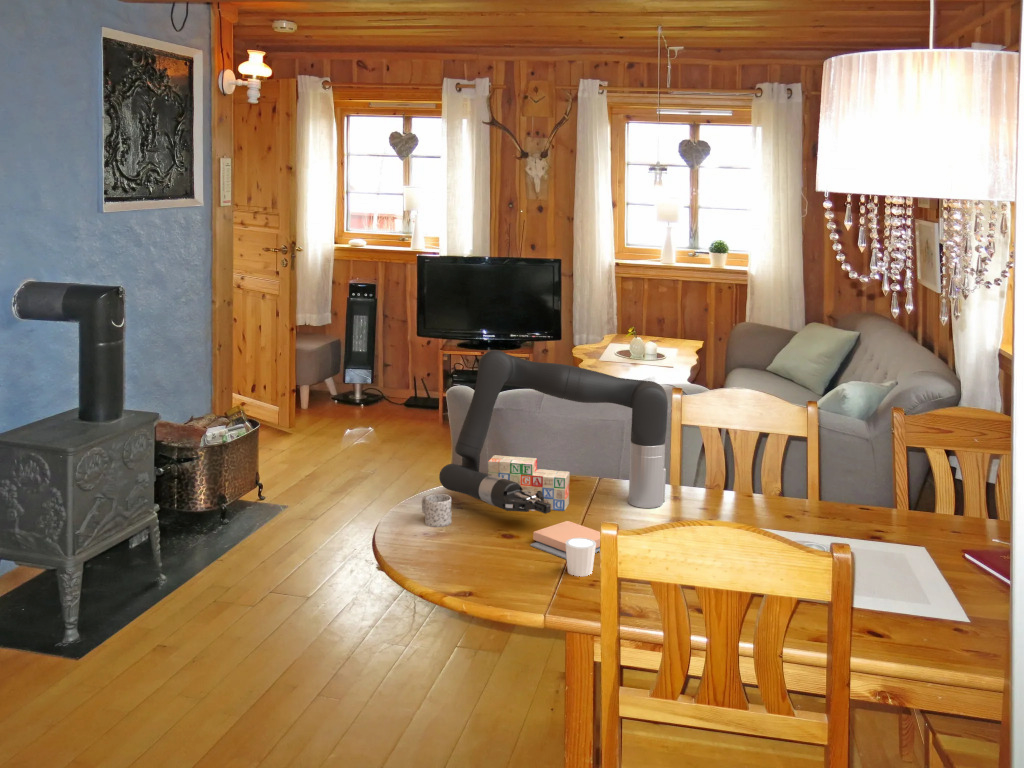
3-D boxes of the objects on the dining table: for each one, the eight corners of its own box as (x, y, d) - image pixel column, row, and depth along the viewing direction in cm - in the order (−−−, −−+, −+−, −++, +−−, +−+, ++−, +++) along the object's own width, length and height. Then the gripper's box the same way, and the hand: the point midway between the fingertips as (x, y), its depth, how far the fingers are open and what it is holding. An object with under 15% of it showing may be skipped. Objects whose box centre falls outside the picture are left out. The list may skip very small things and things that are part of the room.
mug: (456, 523, 264) (456, 498, 262) (435, 529, 259) (435, 503, 258) (433, 513, 271) (433, 489, 270) (412, 518, 267) (412, 494, 265)
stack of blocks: (569, 504, 280) (570, 460, 277) (564, 511, 274) (565, 467, 272) (493, 497, 285) (493, 454, 283) (487, 504, 279) (487, 460, 277)
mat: (575, 530, 260) (575, 528, 260) (618, 545, 250) (618, 543, 250) (530, 545, 249) (530, 544, 249) (572, 562, 239) (572, 560, 239)
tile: (567, 520, 258) (609, 535, 249) (567, 529, 259) (609, 544, 249) (533, 531, 250) (575, 547, 240) (533, 541, 251) (575, 557, 241)
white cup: (593, 566, 237) (594, 537, 235) (596, 577, 230) (597, 548, 229) (563, 566, 237) (564, 537, 235) (566, 577, 230) (566, 547, 228)
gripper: (481, 483, 261) (529, 500, 249) (518, 473, 270) (567, 489, 258) (481, 512, 262) (529, 529, 250) (518, 501, 271) (566, 517, 259)
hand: (548, 509), depth 254 cm, fingers closed
